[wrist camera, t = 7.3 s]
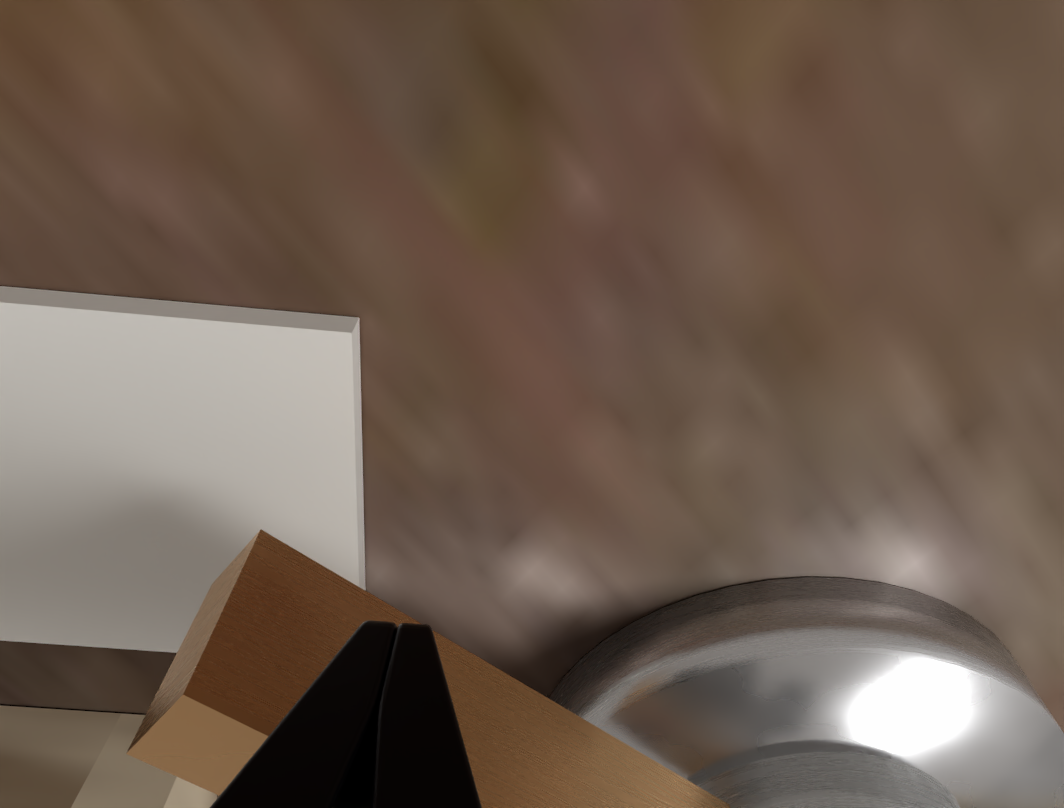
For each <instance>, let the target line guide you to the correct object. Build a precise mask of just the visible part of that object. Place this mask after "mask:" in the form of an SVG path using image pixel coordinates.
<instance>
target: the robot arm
mask: <svg viewBox="0 0 1064 808" xmlns="http://www.w3.org/2000/svg"><path fill="white" fill-rule="evenodd" d="M210 808H482V806H481V803H480V799H479V795H478V792H477V788H476V785H475V781H474V777H473V774H472V770H471V767H470V763H469V759H468V756H467V752H466V749H465V745H464V742H463V738H462V734H461V731H460V727H459V724H458V720H457V716H456V713H455V709H454V706H453V702H452V698H451V695H450V691H449V688H448V684H447V681H446V677H445V673H444V670H443V666H442V663H441V659H440V655H439V652H438V648H437V645H436V641H435V638H434V634H433V631H432V628H431V627H430V626H429V625H426V624H414V623H401V624H399V626H398V627H397V625H396V624H395V623H393V622H386V621H372V620H368V621H365V622H363V623H362V624H361V625H360V626H359V627H358V628H357V630H356V631H355V632H354V633H353V634H352V636H351V637H350V638H349V639H348V640H347V642H346V643H345V644H344V645H343V646H342V648H341V649H340V650H339V651H338V653H337V654H336V655H335V656H334V657H333V659H332V660H331V661H330V662H329V663H328V665H327V666H326V667H325V668H324V670H323V671H322V672H321V673H320V674H319V676H318V677H317V678H316V679H315V680H314V682H313V683H312V684H311V685H310V687H309V688H308V689H307V690H306V691H305V693H304V694H303V695H302V696H301V697H300V699H299V700H298V701H297V702H296V703H295V705H294V706H293V707H292V708H291V710H290V711H289V712H288V713H287V714H286V716H285V717H284V718H283V719H282V720H281V722H280V723H279V724H278V725H277V727H276V728H275V729H274V730H273V731H272V733H271V734H270V735H269V736H268V737H267V739H266V740H265V741H264V742H263V744H262V745H261V746H260V747H259V748H258V750H257V751H256V752H255V753H254V754H253V756H252V757H251V758H250V759H249V761H248V762H247V763H246V764H245V765H244V767H243V768H242V769H241V770H240V771H239V773H238V774H237V775H236V776H235V777H234V779H233V780H232V781H231V782H230V784H229V785H228V786H227V787H226V788H225V790H224V791H223V792H222V793H221V794H220V796H219V797H218V798H217V799H216V801H215V802H214V803H213V804H212V805H211V807H210Z"/></svg>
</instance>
